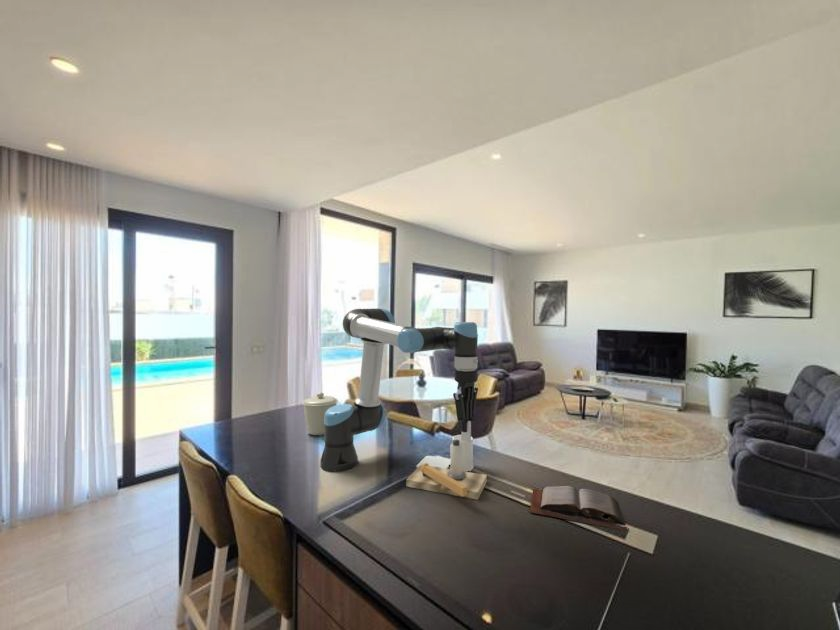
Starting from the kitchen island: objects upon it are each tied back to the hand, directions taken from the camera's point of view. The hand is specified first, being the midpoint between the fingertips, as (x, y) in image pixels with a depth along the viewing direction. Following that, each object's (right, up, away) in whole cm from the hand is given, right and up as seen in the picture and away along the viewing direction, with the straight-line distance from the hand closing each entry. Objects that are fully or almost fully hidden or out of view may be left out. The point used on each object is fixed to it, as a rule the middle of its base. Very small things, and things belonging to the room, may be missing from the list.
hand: (466, 440), depth 121 cm
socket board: (-5, -20, +13) cm, 24 cm away
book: (+35, -21, -3) cm, 41 cm away
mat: (-9, -20, +30) cm, 37 cm away
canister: (-67, -20, +72) cm, 100 cm away
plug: (-2, -20, +13) cm, 24 cm away
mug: (+1, -20, +25) cm, 32 cm away
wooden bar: (-8, -16, +6) cm, 19 cm away
